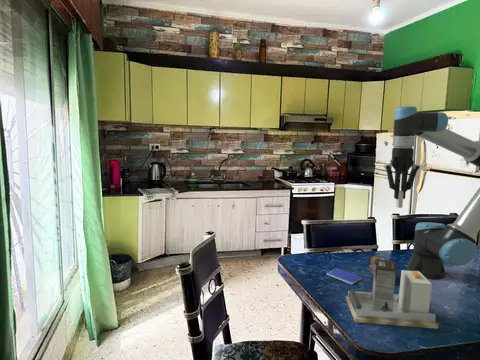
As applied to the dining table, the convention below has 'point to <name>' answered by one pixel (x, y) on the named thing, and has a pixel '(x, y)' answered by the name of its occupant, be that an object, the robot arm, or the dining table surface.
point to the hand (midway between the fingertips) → (398, 206)
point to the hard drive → (344, 276)
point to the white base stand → (363, 308)
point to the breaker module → (414, 292)
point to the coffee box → (383, 284)
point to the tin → (372, 263)
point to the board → (391, 322)
